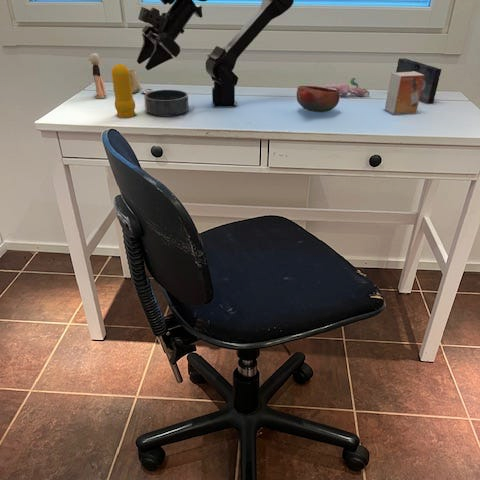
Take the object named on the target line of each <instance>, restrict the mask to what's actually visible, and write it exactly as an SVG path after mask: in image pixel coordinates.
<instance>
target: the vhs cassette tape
mask: <svg viewBox="0 0 480 480" xmlns="http://www.w3.org/2000/svg"><path fill="white" fill-rule="evenodd" d="M412 71H415V72H418V73H421V74H423V75H425V76H424V81H423V85H422V90H421V94H420V99H419V102H421V103H424V104H433V103H434V101H435V98H436V94H437V89H438V85H439V81H440V77H441V73H442V68H439V67H435V66H433V65H429V64H425V63H422V62H419V61H414V60H411V59H408V58H405V57H403V58H398V59H397V66H396V71H395V73H399V72H412Z"/></svg>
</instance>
